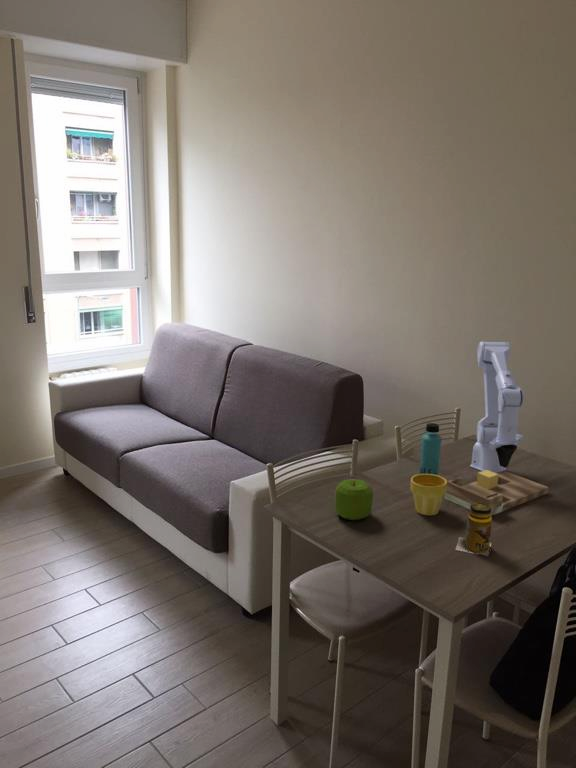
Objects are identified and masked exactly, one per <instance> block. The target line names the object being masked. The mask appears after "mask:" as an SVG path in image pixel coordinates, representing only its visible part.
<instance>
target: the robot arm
mask: <svg viewBox="0 0 576 768" xmlns="http://www.w3.org/2000/svg"><path fill="white" fill-rule="evenodd" d="M511 351H512V350H511V344H510V343H509V342H508V341H505V342H502V341H500V342H498V341H492V342H491V341H479V344H478V345H477V351H476V352H477V365H478V368H480V369H482V372H483V384H484V385H483V387H484V409H485V410H484V411H485V416H484V417H482V418H481V419H480V420H479V421H478V422H477V427H476V439H477V441H476V442H475V444H474V445H473V447H472V454H471V464H470V465H469V466H470V467H471V468H473V469H475V470H478V471H480V472H482V471H485V470H489V471H491V472H494V473H496V474H498V473H501V472H504V471H507V467H508V466H509V463H510V461H511V459H512V456H513V455H514V453H515V452H516V450H517V448H518V446H517V445H519V442H520V443H522V442H523V439H524V438H523V437H524V436H523V434H519V433H518V432H517V431H518V422H519V414H520V408H521V407H522V406H523V402H524V391H523V390H522V388H520V386H518V385H517V382H516V377H515V374H513V372H512V371H510V369H509V365H508V361H509V358H510V356H511Z"/></svg>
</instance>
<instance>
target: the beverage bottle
mask: <svg viewBox="0 0 576 768" xmlns="http://www.w3.org/2000/svg"><path fill="white" fill-rule="evenodd" d="M425 431H426V433H424V434H423V435H422V436H421V446H420V461H419V463H420V464H419V474H433V475H438V476H440V469H441V466H440V465H441V450H442V439H443V438H442V437H441V436H440V435H439V432H440V425H439V424H438V423H434V422H433V423H432V422H430V423H427V424H426V426H425Z"/></svg>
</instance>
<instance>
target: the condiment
mask: <svg viewBox="0 0 576 768" xmlns="http://www.w3.org/2000/svg"><path fill="white" fill-rule="evenodd" d="M466 521H467V524H466V532H465V537H461V536H458V540H457V544H456V546H455V551H459V552H464V553H467V554H468V553H469V554H472V555H475V554H474V553H486V552H487V551H488V550H489V546H490V547H491V548H492V542H491V533H492V531H491V530H492V523H493V516H491V507H490V506H489V505H487V504H484V503H473V504H471V506H470V510H469V513H468V514H467V520H466ZM463 547H465V548H466V549H467V550H468V551H469V552H468V551H467V550H465V548H463Z"/></svg>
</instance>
